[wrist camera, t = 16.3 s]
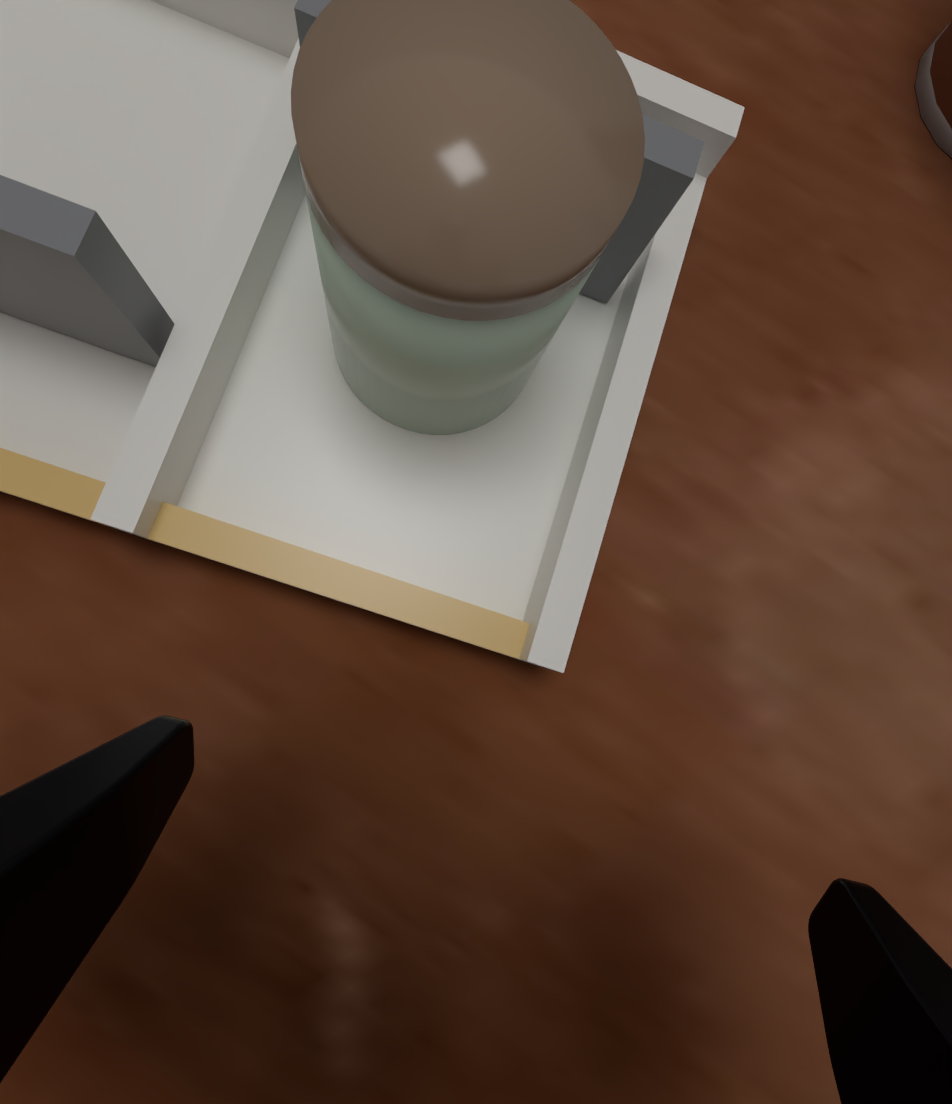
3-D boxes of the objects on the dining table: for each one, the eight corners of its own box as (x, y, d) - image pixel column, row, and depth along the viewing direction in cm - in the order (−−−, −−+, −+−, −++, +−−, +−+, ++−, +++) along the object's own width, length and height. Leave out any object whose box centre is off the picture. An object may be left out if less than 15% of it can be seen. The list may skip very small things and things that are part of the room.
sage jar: (414, 474, 17) (438, 352, 10) (290, 307, 18) (213, 49, 10) (572, 364, 19) (710, 175, 11) (455, 207, 19) (508, -96, 11)
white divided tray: (539, 666, 18) (616, 687, 12) (-297, 395, 16) (-723, 251, 10) (675, 206, 20) (796, 33, 14) (-26, -89, 18) (-229, -442, 12)
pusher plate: (606, 303, 19) (693, 179, 14) (320, 190, 18) (294, 8, 13) (615, 275, 19) (704, 141, 14) (332, 161, 18) (310, -31, 13)
